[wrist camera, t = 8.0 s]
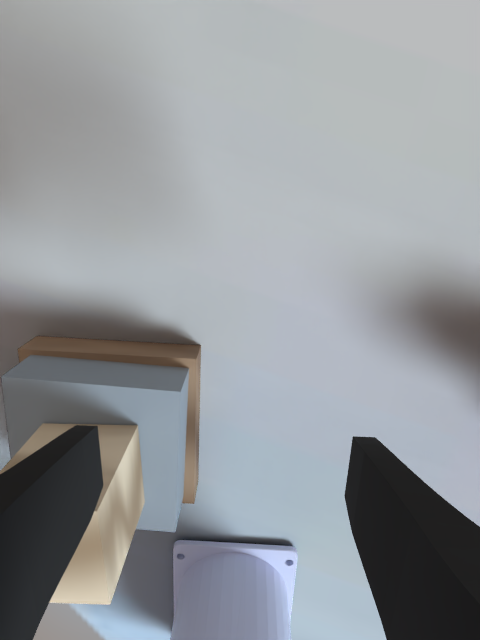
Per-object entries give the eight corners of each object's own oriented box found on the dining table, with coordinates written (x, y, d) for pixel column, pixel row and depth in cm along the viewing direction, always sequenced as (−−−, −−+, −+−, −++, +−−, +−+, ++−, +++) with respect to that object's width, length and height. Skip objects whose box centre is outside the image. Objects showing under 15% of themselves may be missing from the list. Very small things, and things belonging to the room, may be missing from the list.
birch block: (144, 501, 19) (110, 604, 15) (56, 499, 19) (-7, 600, 15) (137, 425, 18) (96, 511, 13) (42, 423, 18) (-32, 507, 13)
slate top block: (183, 496, 22) (175, 532, 20) (43, 484, 22) (17, 519, 20) (189, 367, 20) (180, 391, 17) (31, 354, 20) (0, 376, 17)
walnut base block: (199, 473, 25) (193, 503, 22) (57, 465, 25) (37, 494, 22) (202, 341, 22) (196, 358, 20) (42, 332, 22) (17, 349, 20)
